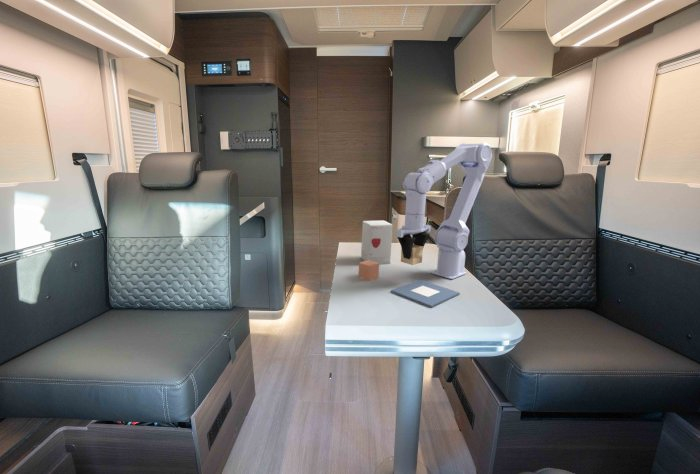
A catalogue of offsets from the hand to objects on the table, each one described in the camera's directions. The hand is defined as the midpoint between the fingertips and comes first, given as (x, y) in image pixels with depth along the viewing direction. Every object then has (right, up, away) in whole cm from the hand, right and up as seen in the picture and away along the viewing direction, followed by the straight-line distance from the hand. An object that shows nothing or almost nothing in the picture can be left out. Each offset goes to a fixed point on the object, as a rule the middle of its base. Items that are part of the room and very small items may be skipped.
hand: (412, 256), depth 104 cm
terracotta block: (-13, -7, +6) cm, 16 cm away
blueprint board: (+3, -10, -6) cm, 12 cm away
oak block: (0, -2, +1) cm, 2 cm away
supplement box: (-10, -3, +24) cm, 26 cm away
